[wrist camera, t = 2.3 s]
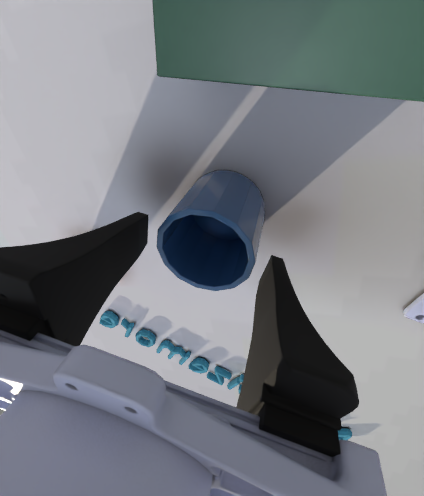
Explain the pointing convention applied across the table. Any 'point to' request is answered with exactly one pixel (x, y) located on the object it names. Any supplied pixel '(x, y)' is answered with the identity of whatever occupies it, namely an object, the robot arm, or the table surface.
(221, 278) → the blue cup
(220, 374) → the nameplate
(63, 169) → the table surface
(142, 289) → the table surface
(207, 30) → the flat green board
